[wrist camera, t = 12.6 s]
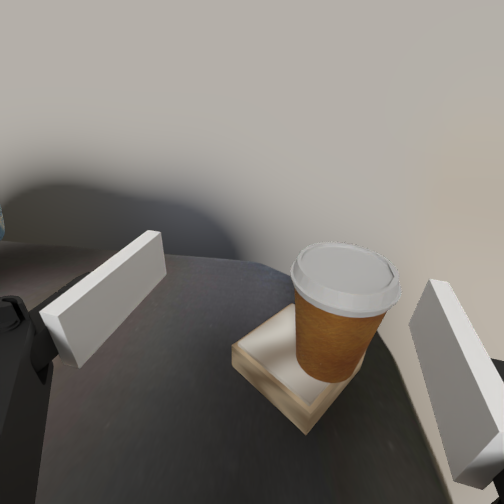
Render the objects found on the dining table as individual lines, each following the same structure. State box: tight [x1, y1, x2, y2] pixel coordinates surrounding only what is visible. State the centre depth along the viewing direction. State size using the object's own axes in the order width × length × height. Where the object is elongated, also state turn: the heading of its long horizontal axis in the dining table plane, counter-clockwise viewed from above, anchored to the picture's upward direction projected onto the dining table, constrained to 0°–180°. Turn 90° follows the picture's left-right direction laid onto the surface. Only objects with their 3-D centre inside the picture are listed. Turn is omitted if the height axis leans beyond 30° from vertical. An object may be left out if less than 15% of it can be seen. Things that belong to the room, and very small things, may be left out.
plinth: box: [232, 303, 366, 435], centre depth 33 cm, size 11×11×4 cm
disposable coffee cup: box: [290, 242, 401, 383], centre depth 28 cm, size 10×10×12 cm
